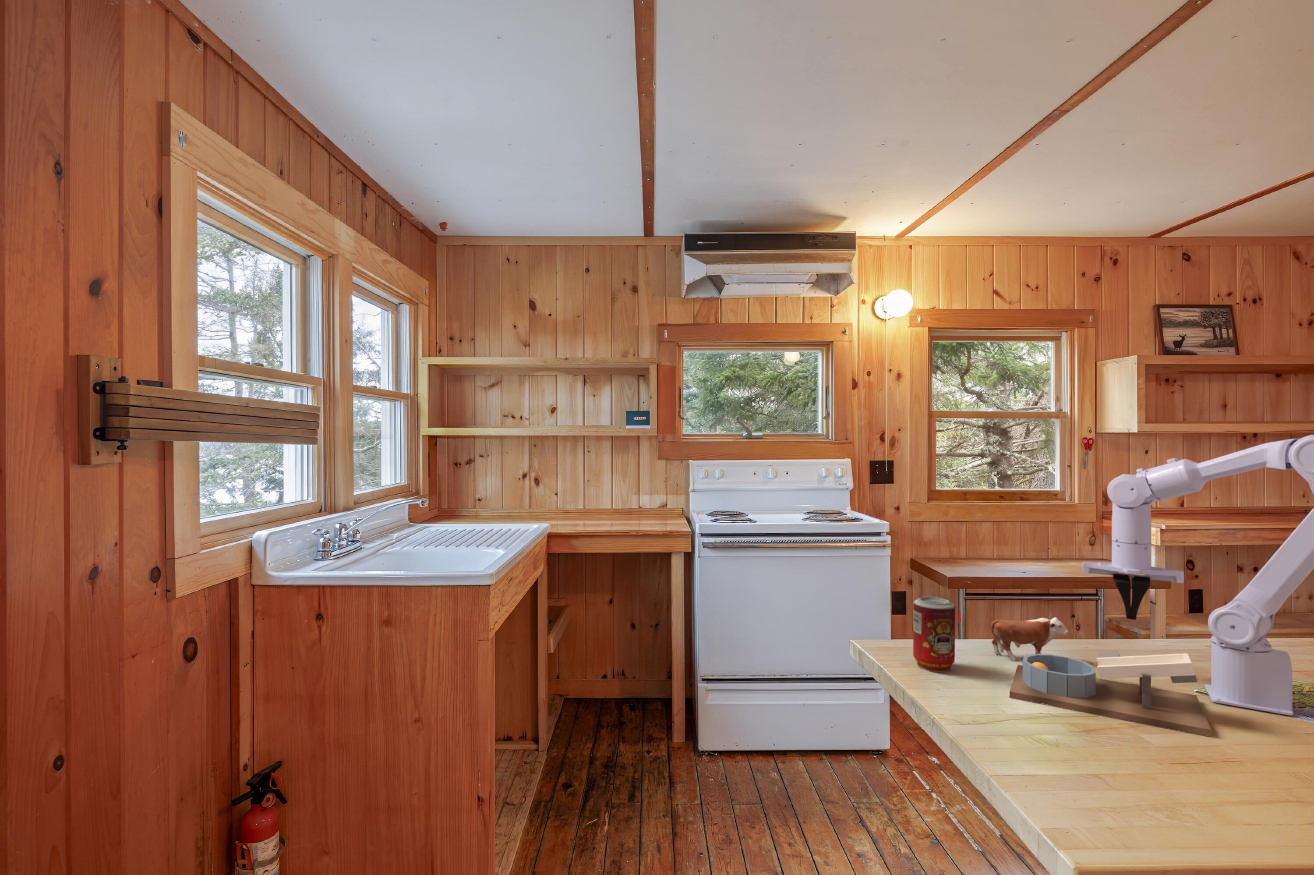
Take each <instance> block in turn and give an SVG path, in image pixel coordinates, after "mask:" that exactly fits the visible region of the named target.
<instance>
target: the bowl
mask: <svg viewBox="0 0 1314 875" xmlns="http://www.w3.org/2000/svg"><path fill="white" fill-rule="evenodd" d="M1035 662H1040V663H1042V664H1044V665H1045V666H1046V667H1047V668H1048V670H1049V671H1048V670H1045V669H1042V668H1039V667H1036V666H1033V665H1032V663H1035ZM1022 666H1023V682H1024V683H1025V684H1027V685H1028V686H1029V687H1031V688H1033V689H1036V690H1039V691H1042V692H1045V693H1048V694H1053V695H1058V696H1063V697H1076V698H1086V697H1090V696H1093V695H1096V678H1097V676H1096V675H1097V674H1096V673H1097V672H1096V671H1097V670H1096V669H1097V667H1095V666H1093V665H1091V664H1089V663H1088V662H1086V661H1083V660H1080V659H1076V658H1073V657H1069V656H1063V655H1058V654H1051V653H1049V654H1048V653H1041V654H1035V653H1032V654H1028V655H1024V656H1023V657H1022Z"/></svg>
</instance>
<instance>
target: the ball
mask: <svg viewBox="0 0 1314 875" xmlns="http://www.w3.org/2000/svg"><path fill="white" fill-rule="evenodd" d="M1032 665H1033V666H1036V667H1039V668H1042V669H1045V670H1048V668H1047V667H1046V666H1045V665H1044V664H1042V663H1040V662H1035V663H1032ZM1048 671H1049V670H1048Z"/></svg>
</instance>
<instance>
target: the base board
mask: <svg viewBox="0 0 1314 875" xmlns="http://www.w3.org/2000/svg"><path fill="white" fill-rule="evenodd" d="M1138 680H1139V683H1138V684H1133V683H1128V682H1127V683H1126V682H1121V681H1116V680H1110V679H1100V677H1099V678H1097V677H1096V695H1093V696H1090V697H1086V698H1076V697H1063V696H1058V695H1053V694H1048V693H1045V692H1042V691H1039V690H1036V689H1033V688H1031V687H1029V686H1028V685H1027V684H1025V683H1024V682H1023V664H1022V665H1021V664H1017V666H1016V670H1015V672H1014V675H1013V679H1012V681H1011V682H1012V683H1011V685H1010V689H1009V698H1010V697H1011V699H1014V698H1015V700H1020V701H1025V700H1027V702H1030V701H1032V702H1031V703H1035V702H1036V704H1040V703H1044V704H1043V705H1045V704H1048V705H1047V706H1050V705H1052V706H1051V707H1055V706H1056V707H1055V708H1060V707H1062V708H1061V709H1066V710H1071V711H1076V710H1077V711H1076V712H1080V713H1081V712H1082V713H1086V714H1093V715H1097V716H1101V717H1106V718H1113V719H1117V720H1121V721H1127V722H1133V723H1137V724H1138V723H1139V724H1144V725H1147V726H1152V727H1157V728H1158V727H1159V728H1164V729H1167V728H1170V729H1169V730H1173V729H1174V731H1178V730H1180V732H1183V731H1184V733H1188V732H1190V733H1189V734H1193V733H1194V734H1193V735H1198V734H1199V736H1203V735H1207V736H1206V737H1208V736H1210V737H1209V738H1211V737H1212V728H1211V726H1210V724H1209V721H1208V719H1207V717H1206V714H1205V712H1204V710H1203V708H1202V706H1201V703H1200V701H1199V698H1198V696H1197V695H1196V694H1191V693H1186V692H1181V691H1173V690H1169V689H1162V688H1157V687H1152V677H1151V675H1147V674H1142V677H1139V679H1138Z"/></svg>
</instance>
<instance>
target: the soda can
mask: <svg viewBox="0 0 1314 875" xmlns="http://www.w3.org/2000/svg"><path fill="white" fill-rule="evenodd" d="M912 610H913V612H912V613H913V618H912V619H913V624H912V625H913V626H912V628H913V631H912V633H913V638H912V639H913V642H912V651H913V654H912V655H913V658H914V659H915V662H916V665H917V667H918V668H920V669H922V670H925V671H929V672H934V673H946V672H949V671H951V667H952V665H953V664H954V663H955V658H956V606H955V605H954V603H953V602H952V601H950V600H948V599H945V598H942V597H936V596H927V595H926V596H922V597H917V599H915V600H914V601H913V609H912Z"/></svg>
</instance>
